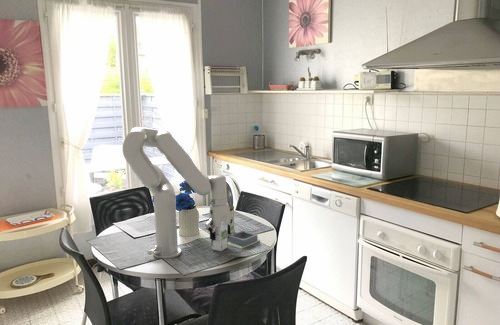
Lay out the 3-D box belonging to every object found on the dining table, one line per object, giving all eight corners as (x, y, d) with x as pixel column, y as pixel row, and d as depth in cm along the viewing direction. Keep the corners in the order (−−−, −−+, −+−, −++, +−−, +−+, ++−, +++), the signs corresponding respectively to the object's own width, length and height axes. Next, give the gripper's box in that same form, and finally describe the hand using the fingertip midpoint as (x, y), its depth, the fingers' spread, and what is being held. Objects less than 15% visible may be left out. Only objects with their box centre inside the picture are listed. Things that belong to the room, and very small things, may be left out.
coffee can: (216, 229, 223) (216, 204, 221) (235, 229, 222) (235, 204, 220) (213, 235, 213) (212, 209, 211) (233, 236, 212) (232, 209, 210)
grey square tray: (243, 246, 196) (243, 240, 196) (228, 241, 203) (228, 235, 203) (257, 240, 204) (257, 235, 203) (242, 236, 210) (242, 230, 210)
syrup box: (217, 245, 200) (217, 216, 197) (228, 247, 197) (227, 218, 195) (211, 249, 195) (210, 220, 192) (221, 251, 192) (221, 221, 190)
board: (240, 249, 195) (240, 247, 195) (225, 244, 202) (225, 242, 202) (260, 240, 205) (260, 239, 205) (245, 236, 212) (245, 235, 212)
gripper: (210, 207, 183) (212, 243, 186) (237, 198, 196) (238, 233, 199) (199, 204, 188) (201, 240, 191) (226, 196, 201) (227, 230, 204)
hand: (220, 236), depth 195 cm, fingers open, 9 cm apart
